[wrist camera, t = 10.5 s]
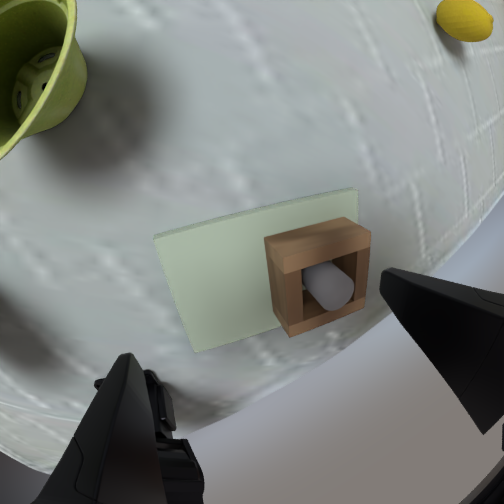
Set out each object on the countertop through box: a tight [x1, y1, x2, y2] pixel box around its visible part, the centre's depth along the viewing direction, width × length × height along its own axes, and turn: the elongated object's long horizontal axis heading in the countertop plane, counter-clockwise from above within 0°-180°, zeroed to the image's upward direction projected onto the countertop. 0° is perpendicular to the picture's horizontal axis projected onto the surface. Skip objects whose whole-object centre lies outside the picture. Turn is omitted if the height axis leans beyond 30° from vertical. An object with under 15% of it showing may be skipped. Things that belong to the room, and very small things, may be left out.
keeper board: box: [153, 188, 358, 353], centre depth 20 cm, size 16×11×5 cm
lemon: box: [436, 0, 494, 42], centre depth 13 cm, size 6×6×8 cm
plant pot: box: [0, 0, 87, 160], centre depth 8 cm, size 9×9×9 cm
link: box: [264, 217, 371, 338], centre depth 21 cm, size 7×7×4 cm
